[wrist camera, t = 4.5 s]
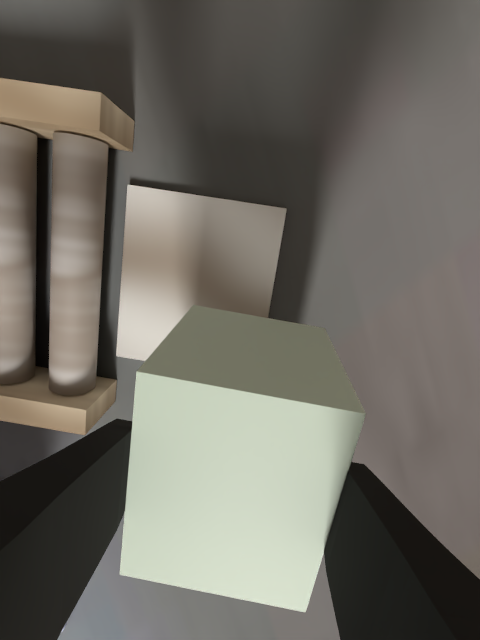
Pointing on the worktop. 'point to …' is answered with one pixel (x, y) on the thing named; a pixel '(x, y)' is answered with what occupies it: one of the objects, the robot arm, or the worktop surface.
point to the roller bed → (87, 253)
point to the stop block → (238, 457)
